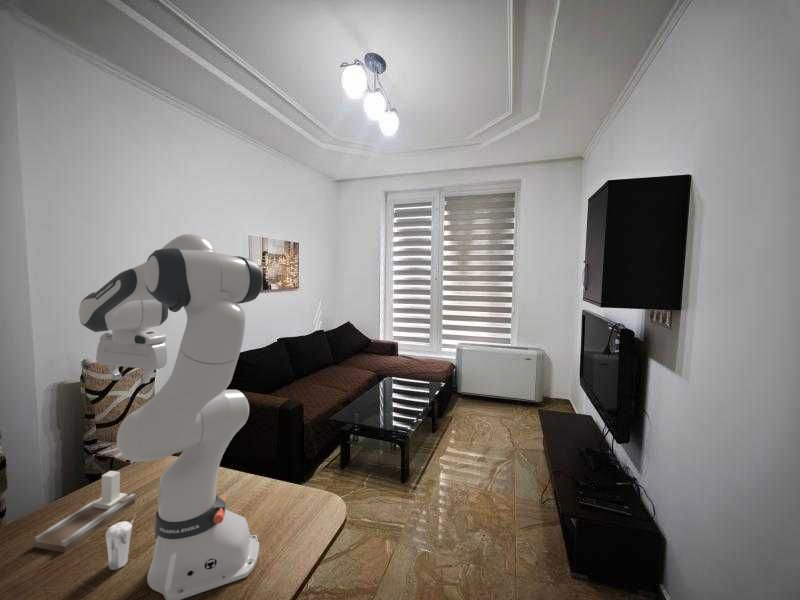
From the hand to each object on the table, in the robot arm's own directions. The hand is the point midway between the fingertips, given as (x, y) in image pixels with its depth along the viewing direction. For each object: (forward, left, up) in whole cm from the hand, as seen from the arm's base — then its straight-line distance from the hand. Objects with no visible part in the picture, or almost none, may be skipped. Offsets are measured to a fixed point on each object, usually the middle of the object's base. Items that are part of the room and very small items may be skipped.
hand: (130, 381), depth 99 cm
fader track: (+3, +14, -33) cm, 36 cm away
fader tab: (+1, +9, -32) cm, 33 cm away
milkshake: (-10, +30, -33) cm, 46 cm away
